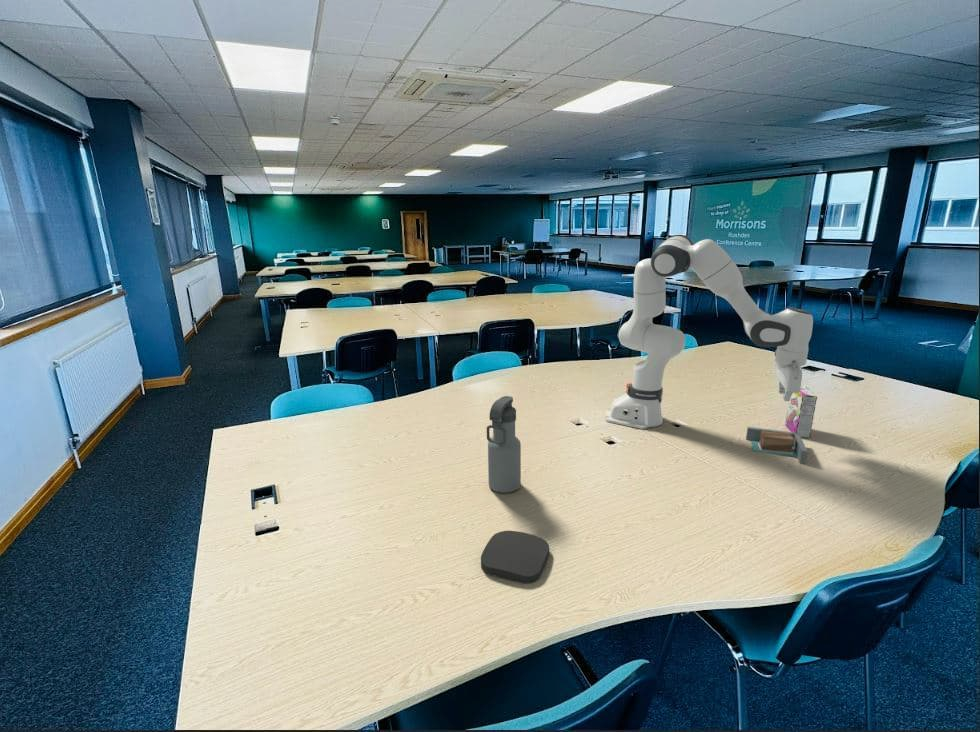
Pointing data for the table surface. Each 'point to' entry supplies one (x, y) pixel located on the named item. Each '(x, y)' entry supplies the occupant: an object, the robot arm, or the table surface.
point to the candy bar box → (801, 412)
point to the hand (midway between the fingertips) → (783, 396)
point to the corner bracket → (797, 451)
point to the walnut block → (776, 441)
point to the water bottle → (503, 448)
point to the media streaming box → (515, 556)
